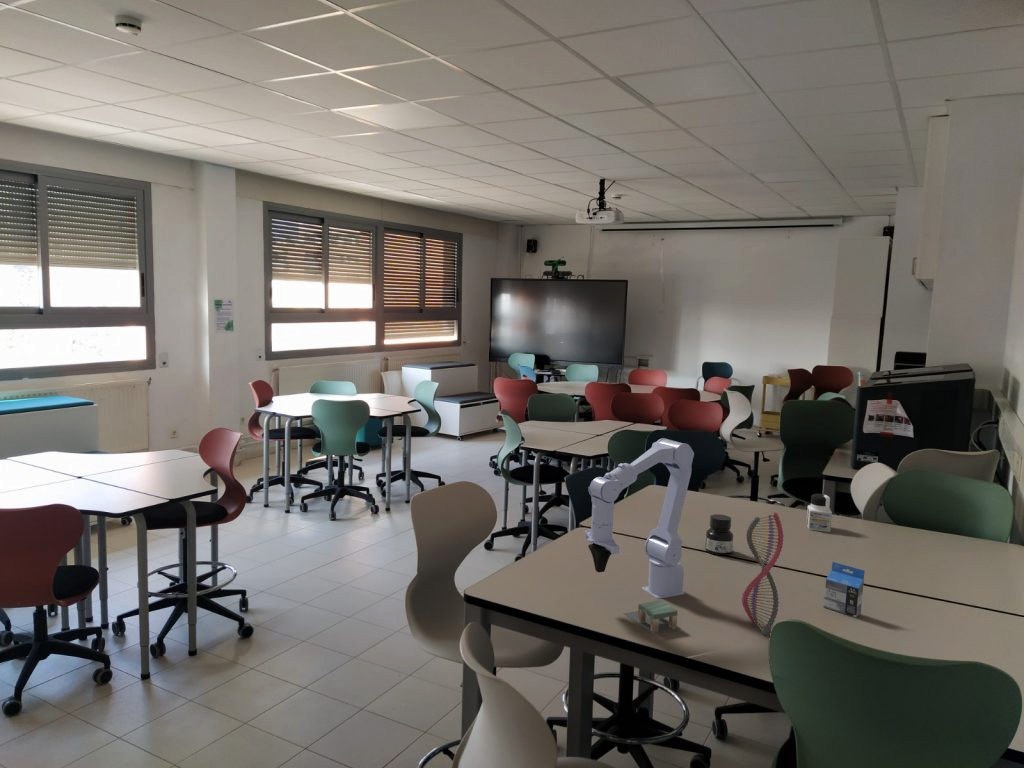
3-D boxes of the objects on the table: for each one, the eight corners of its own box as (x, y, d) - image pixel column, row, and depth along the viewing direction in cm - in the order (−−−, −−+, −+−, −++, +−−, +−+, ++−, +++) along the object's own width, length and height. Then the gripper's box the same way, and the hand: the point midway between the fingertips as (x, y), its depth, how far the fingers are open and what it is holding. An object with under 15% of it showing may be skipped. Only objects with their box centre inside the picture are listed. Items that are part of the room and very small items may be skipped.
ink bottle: (704, 554, 236) (706, 519, 235) (703, 545, 245) (705, 512, 243) (734, 557, 234) (736, 522, 233) (732, 549, 242) (734, 515, 241)
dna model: (768, 620, 186) (776, 509, 183) (782, 636, 177) (791, 520, 174) (735, 620, 186) (742, 509, 183) (747, 635, 177) (755, 519, 174)
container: (808, 530, 267) (810, 496, 265) (806, 524, 274) (808, 491, 273) (830, 532, 264) (833, 498, 263) (827, 526, 272) (830, 493, 270)
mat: (651, 609, 191) (651, 608, 191) (681, 629, 179) (681, 628, 179) (623, 614, 187) (623, 613, 187) (651, 635, 176) (651, 634, 176)
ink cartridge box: (822, 607, 196) (826, 564, 194) (828, 603, 199) (831, 561, 197) (856, 618, 190) (859, 573, 188) (861, 614, 192) (865, 570, 191)
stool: (638, 603, 182) (654, 614, 176) (660, 600, 185) (677, 610, 179) (637, 621, 183) (653, 632, 177) (659, 616, 186) (676, 628, 179)
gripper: (575, 516, 194) (573, 563, 196) (603, 531, 181) (601, 582, 183) (597, 513, 197) (595, 560, 199) (627, 529, 184) (624, 579, 186)
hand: (600, 571), depth 191 cm, fingers closed
